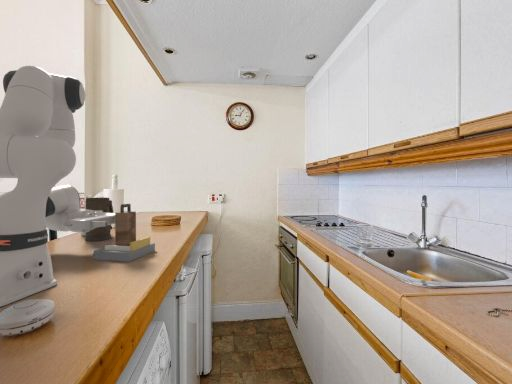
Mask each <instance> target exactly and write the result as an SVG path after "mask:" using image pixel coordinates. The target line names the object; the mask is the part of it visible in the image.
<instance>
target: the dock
mask: <svg viewBox="0 0 512 384" xmlns="http://www.w3.org/2000/svg"><path fill="white" fill-rule="evenodd" d="M153 252H156V243H155V242H151V236H146V237H144V238H143V237H142V238H140V239H136V241H133V242H130V246H118V245H115V243H114V244H104V247H102V248H98V249H96V250H93V260H97V261H112V262H127V263H130V262H133V261H135V260H137V259H140V258H142V257H144V256H147V255H148V254H151V253H153Z"/></svg>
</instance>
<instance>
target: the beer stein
mask: <svg viewBox="0 0 512 384" xmlns="http://www.w3.org/2000/svg"><path fill="white" fill-rule="evenodd" d="M84 202H85V204H86V209H87V210H93V211H96V210H99V211H103V212H109V213H114V206H113V201H112V200H111V199H110V197H103V198H102V197H88V198H86V197H85V201H84ZM112 230H113V226H112V225H107V226H105V227H98V228H95V229H93V230H91V231H89V232H86V235H85V238H84V239H85V241H87V242H99V241H106V240H110V239H111V238H112V235H111V233H112V232H111V231H112Z"/></svg>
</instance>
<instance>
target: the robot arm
mask: <svg viewBox="0 0 512 384" xmlns="http://www.w3.org/2000/svg"><path fill="white" fill-rule="evenodd" d="M2 85H3V90H4V91H3V92H4V93H5V95H4V98H3V99H2V103H1V104H0V105H1V106H0V179H17V183H16V185H15V187H14V188H13V190H10V191H7V192H5V193H3V194H1V195H0V308H1V307H3V306H6V305H9V304H11V303H14V302H17V301H19V300H22V299H25V298H27V297H29V296H31V295H35V294H37V293H39V292H42V291H44V290H47V289H50V288H52V287H54V286H57V285H58V282H57V281H58V280H57V279H55V278H54V270H53V264H52V257H51V253H50V251H49V249H48V246H47V243H48V242H49V233H48V230H51V231H57V232H73V233H81V232H84V233H86V232H89V231H91V230H93V229H95V228H98V227H105V226H107V225H111V226H112V225H115V213H116V212H113V213H109V212H103V211H99V210H96V211H93V210H87V209H84V208H83V209H82V208H81V197H80V193H79V191H78V190H77V189H76V188H75V186H72V185H71V184H61V185H57V184H58V183H59V182H60V181H61V180H62V179H64V178H65V177H67V176H68V175H70V174H71V173H72V171H73V170H74V168H75V166H76V164H77V163H76V162H77V157H76V152H75V150H74V149H73V148H74V146H75V143H76V128H75V127H76V126H75V120H74V119H75V118H74V115H73V114H74V113H76V111H77V110H79V109H81V108H82V107H83V106H84V105H85V101H86V91H85V88H84V85H83V83H82V82H81V81H80V79H77V78H75V77H72V76H64V75H60V74H55V73H54V74H53V73H49V72H47V71H46V70H44V69H43V68H41V67H38V66H34V65H24V66H20V67H19V68H18V69H17V70H9V71H8V72H6V73H5V74H4V75H3V78H2Z"/></svg>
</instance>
